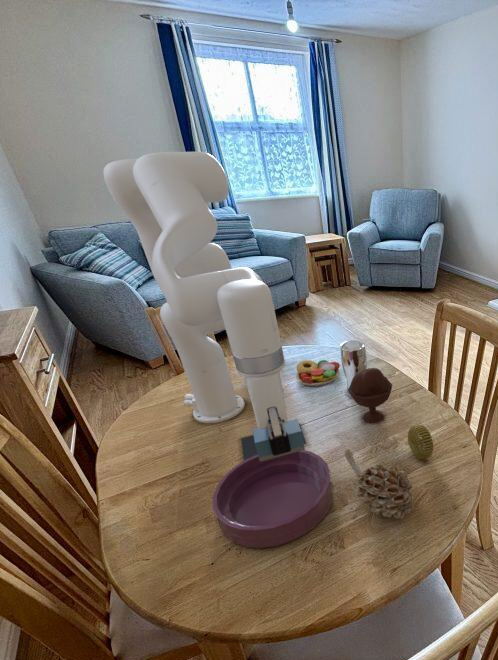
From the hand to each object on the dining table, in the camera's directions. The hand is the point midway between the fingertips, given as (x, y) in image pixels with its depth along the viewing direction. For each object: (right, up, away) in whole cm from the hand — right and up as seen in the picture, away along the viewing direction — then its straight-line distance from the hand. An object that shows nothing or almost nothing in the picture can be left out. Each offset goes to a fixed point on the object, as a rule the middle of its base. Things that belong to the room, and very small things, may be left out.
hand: (279, 443), depth 76 cm
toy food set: (-6, +13, +50) cm, 52 cm away
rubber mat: (-10, -3, +23) cm, 25 cm away
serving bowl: (-2, -13, +6) cm, 15 cm away
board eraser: (0, -1, +1) cm, 1 cm away
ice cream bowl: (+13, +2, +32) cm, 34 cm away
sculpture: (+26, -6, +19) cm, 32 cm away
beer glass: (+7, +9, +42) cm, 44 cm away
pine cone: (+17, -12, +8) cm, 22 cm away
